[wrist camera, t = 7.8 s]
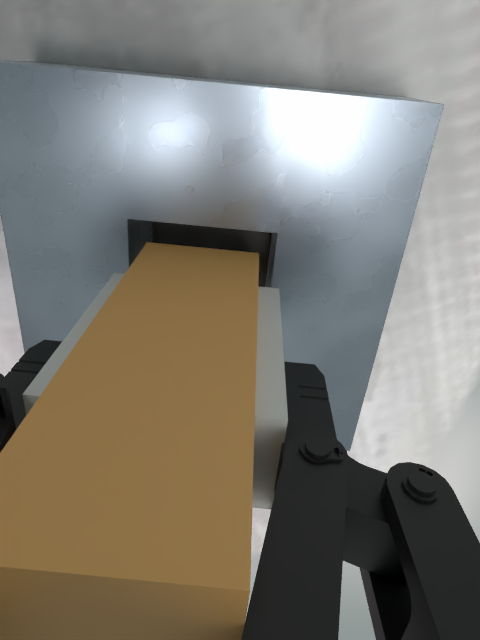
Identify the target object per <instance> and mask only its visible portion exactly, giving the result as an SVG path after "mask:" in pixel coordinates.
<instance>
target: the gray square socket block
mask: <svg viewBox="0 0 480 640" xmlns="http://www.w3.org/2000/svg"><path fill="white" fill-rule="evenodd" d="M443 106H444V104H439V103H434V102H429V101H423V100H418V99H413V98H408V97H398V96H388V95H377V94H367V93H356V92H346V91H335V90H325V89H314V88H304V87H293V86H283V85H272V84H262V83H251V82H241V81H230V80H220V79H209V78H199V77H188V76H178V75H167V74H157V73H146V72H136V71H126V70H115V69H105V68H94V67H84V66H73V65H63V64H52V63H42V62H27V61H0V213H1V218H2V224H3V230H4V236H5V241H6V247H7V253H8V259H9V265H10V270H11V276H12V282H13V288H14V294H15V299H16V305H17V311H18V317H19V323H20V328H21V334H22V340H23V346H24V351H25V353H26V351H27V350H28V349H29V348H31V347H33V346H34V345H36V344H38V343H40V342H41V341H43V340H54V341H63V340H64V339H65V337H66V336H67V335H68V333H69V332H70V331H71V329H72V328H73V327H74V325H75V324H76V323H77V321H78V320H79V319H80V317H81V316H82V315H83V313H84V312H85V311H86V309H87V308H88V307H89V305H90V304H91V303H92V301H93V300H94V299H95V297H96V296H97V295H98V293H99V292H100V291H101V289H102V288H103V287H104V286H105V284H106V283H107V282H108V280H109V279H110V278H111V276H112V275H113V274H114V273H123V274H125V273H126V272H127V270H128V269H129V267H130V266H131V264H132V263H133V262H134V260H135V259H136V257H137V256H138V254H139V253H140V251H141V250H142V249H143V247H144V246H145V244H146V243H147V242H150V243H153V228H152V221H155V222H165V223H176V224H186V225H197V226H207V227H217V228H228V229H238V230H249V231H259V232H270V233H272V235H271V244H270V252H269V260H268V268H267V277H266V285H265V287H269V288H279V293H280V308H281V322H282V337H283V352H284V361H285V362H295V363H305V364H315V365H316V366H317V368H318V369H319V370H320V371H321V372H322V374H323V375H324V376H325V381H326V387H327V392H328V397H329V402H330V407H331V412H332V417H333V422H334V427H335V432H336V437H337V440H338V441H339V442H341V444H342V445H343V446H344V448H345V449H346V450H348V451H350V448H351V445H352V441H353V437H354V433H355V430H356V426H357V422H358V419H359V415H360V411H361V408H362V404H363V400H364V397H365V393H366V389H367V386H368V382H369V378H370V375H371V371H372V367H373V364H374V360H375V356H376V353H377V349H378V345H379V341H380V338H381V334H382V330H383V327H384V323H385V319H386V316H387V312H388V308H389V305H390V301H391V297H392V294H393V290H394V286H395V283H396V279H397V275H398V272H399V268H400V264H401V261H402V257H403V253H404V250H405V246H406V242H407V238H408V235H409V231H410V227H411V224H412V220H413V216H414V213H415V209H416V205H417V202H418V198H419V194H420V191H421V187H422V183H423V180H424V176H425V172H426V169H427V165H428V161H429V158H430V154H431V150H432V146H433V143H434V139H435V135H436V132H437V128H438V124H439V121H440V117H441V113H442V110H443Z"/></svg>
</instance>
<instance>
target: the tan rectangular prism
mask: <svg viewBox="0 0 480 640" xmlns="http://www.w3.org/2000/svg"><path fill="white" fill-rule="evenodd" d="M258 284H259V253H255V252H244V251H234V250H223V249H213V248H202V247H192V246H182V245H171V244H161V243H150V242H147V243H146V244H145V246H144V247H143V249H142V250H141V251H140V253H139V254H138V256H137V257H136V259H135V260H134V262H133V263H132V264H131V266H130V267H129V269H128V270H127V272H126V273H125V274H124V276H123V277H122V279H121V280H120V282H119V283H118V285H117V286H116V287H115V289H114V290H113V292H112V293H111V295H110V296H109V297H108V299H107V300H106V302H105V303H104V305H103V306H102V308H101V309H100V310H99V312H98V313H97V315H96V316H95V318H94V319H93V320H92V322H91V323H90V325H89V326H88V328H87V329H86V330H85V332H84V333H83V335H82V336H81V338H80V339H79V341H78V342H77V343H76V345H75V346H74V348H73V349H72V351H71V352H70V353H69V355H68V356H67V358H66V359H65V361H64V362H63V364H62V365H61V366H60V368H59V369H58V371H57V372H56V374H55V375H54V376H53V378H52V379H51V381H50V382H49V384H48V385H47V387H46V388H45V389H44V391H43V392H42V394H41V395H40V397H39V398H38V399H37V401H36V402H35V404H34V405H33V407H32V408H31V410H30V411H29V412H28V414H27V415H26V417H25V418H24V420H23V421H22V422H21V424H20V425H19V427H18V428H17V430H16V431H15V432H14V434H13V435H12V437H11V438H10V440H9V441H8V443H7V444H6V445H5V447H4V448H3V450H2V451H1V453H0V640H241V638H242V634H243V630H244V625H245V618H246V612H247V606H248V600H249V593H250V569H251V534H252V499H253V463H254V427H255V391H256V355H257V320H258Z"/></svg>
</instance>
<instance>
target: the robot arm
mask: <svg viewBox="0 0 480 640" xmlns="http://www.w3.org/2000/svg"><path fill="white" fill-rule="evenodd" d="M123 276H124V274H123V273H114V274H113V275H112V276H111V278H110V279H109V280H108V282H107V283H106V284H105V286H104V287H103V288H102V289H101V291H100V292H99V293H98V295H97V296H96V297H95V299H94V300H93V301H92V303H91V304H90V305H89V307H88V308H87V309H86V311H85V312H84V313H83V315H82V316H81V317H80V319H79V320H78V321H77V323H76V324H75V325H74V327H73V328H72V329H71V331H70V332H69V333H68V335H67V336H66V337H65V339H64V340H63V341H54V340H43V341H41V342H40V343H38V344H36V345H34V346H33V347H31V348H29V349H28V350H27V351H26V353H25V354H24V355H23V356H22V357H21V358H20V360H19V362H17V363H16V364H15V365H14V367H13V368H12V369H11V372H10V371H9V372H8V374H7V375H6V376H5V377H4V376H3V375H2V374H0V453H1V451H2V450H3V448H4V447H5V445H6V444H7V443H8V441H9V440H10V438H11V437H12V435H13V434H14V432H15V431H16V430H17V428H18V427H19V425H20V424H21V422H22V421H23V420H24V418H25V417H26V415H27V414H28V412H29V411H30V410H31V408H32V407H33V405H34V404H35V402H36V401H37V399H38V398H39V397H40V395H41V394H42V392H43V391H44V389H45V388H46V387H47V385H48V384H49V382H50V381H51V379H52V378H53V376H54V375H55V374H56V372H57V371H58V369H59V368H60V366H61V365H62V364H63V362H64V361H65V359H66V358H67V356H68V355H69V353H70V352H71V351H72V349H73V348H74V346H75V345H76V343H77V342H78V341H79V339H80V338H81V336H82V335H83V333H84V332H85V330H86V329H87V328H88V326H89V325H90V323H91V322H92V320H93V319H94V318H95V316H96V315H97V313H98V312H99V310H100V309H101V308H102V306H103V305H104V303H105V302H106V300H107V299H108V297H109V296H110V295H111V293H112V292H113V290H114V289H115V287H116V286H117V285H118V283H119V282H120V280H121V279H122V277H123ZM252 508H263V509H271V514H270V518H269V522H268V526H267V531H266V535H265V539H264V544H263V548H262V552H261V557H260V561H259V565H258V570H257V574H256V578H255V582H254V587H253V591H252V595H251V600H250V604H249V608H248V612H247V617H246V621H245V625H244V630H243V634H242V638H241V640H338V631H339V614H340V597H341V580H342V562H343V561H346V562H348V563H351V564H353V565H355V566H358V567H360V571H361V576H362V580H363V585H364V589H365V593H366V597H367V602H368V606H369V611H370V615H371V619H372V623H373V628H374V632H375V636H376V640H480V543H479V541H478V539H477V537H476V535H475V533H474V531H473V529H472V527H471V525H470V523H469V521H468V519H467V517H466V515H465V513H464V511H463V509H462V507H461V505H460V503H459V501H458V499H457V497H456V495H455V493H454V491H453V490H452V488H451V486H450V485H449V483H448V482H447V481H446V479H444V478H443V477H442V476H441V475H439V474H438V473H437V472H436V471H434V470H432V469H430V468H428V467H426V466H424V465H420V464H416V463H411V462H407V463H398V464H396V465H395V466H393V467H391V468H390V470H389V471H388V473H384V472H381V471H378V470H376V469H373V468H370V467H367V466H365V465H363V464H360V463H358V462H357V461H355V460H354V459H352V458H350V457H349V456H348V455H347V450H346V449H345V448H344V446H343V445H342V444H341V442H339V441H338V440H337V437H336V432H335V427H334V422H333V417H332V412H331V407H330V402H329V397H328V392H327V387H326V381H325V376H324V375H323V374H322V372H321V371H320V370H319V369H318V368H317V366H316V365H315V364H305V363H295V362H285V361H284V352H283V337H282V322H281V308H280V293H279V288H269V287H259V286H258V320H257V355H256V391H255V427H254V463H253V499H252Z"/></svg>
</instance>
